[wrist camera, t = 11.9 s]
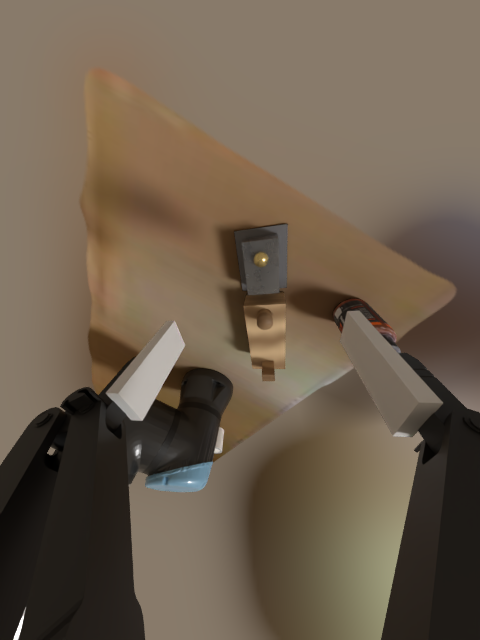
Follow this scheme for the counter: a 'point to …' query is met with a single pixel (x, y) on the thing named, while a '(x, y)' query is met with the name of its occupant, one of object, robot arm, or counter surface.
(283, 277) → the mat
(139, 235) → the counter surface
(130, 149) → the counter surface
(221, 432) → the white cup
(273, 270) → the lever cap
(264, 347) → the body
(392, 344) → the supplement bottle
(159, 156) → the counter surface
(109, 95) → the counter surface
